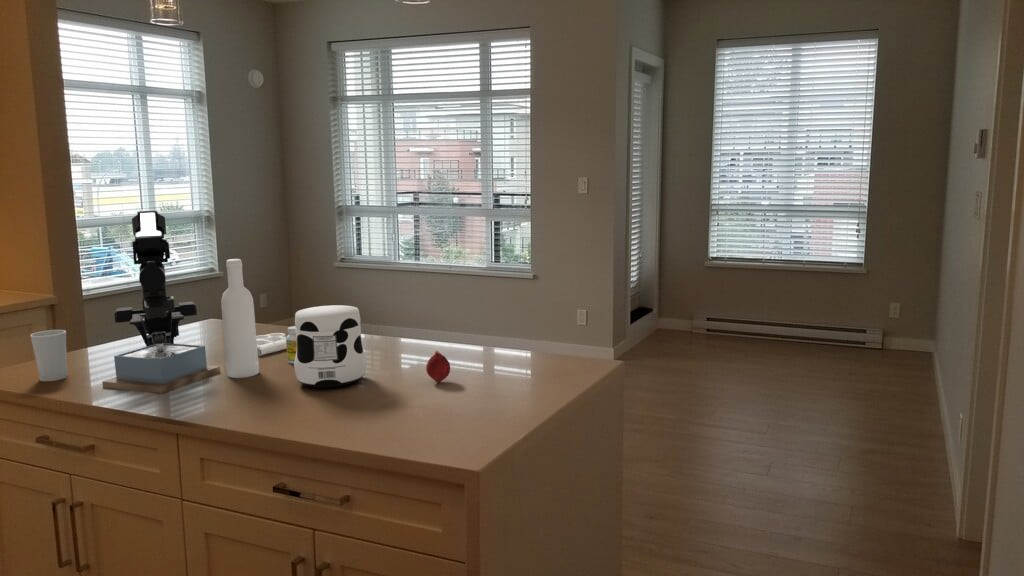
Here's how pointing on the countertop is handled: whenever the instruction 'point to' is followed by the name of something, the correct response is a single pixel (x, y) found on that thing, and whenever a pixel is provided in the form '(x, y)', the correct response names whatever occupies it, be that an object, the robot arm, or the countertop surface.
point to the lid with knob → (159, 348)
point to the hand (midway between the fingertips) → (159, 345)
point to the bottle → (239, 325)
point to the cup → (50, 354)
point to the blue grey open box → (160, 365)
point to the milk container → (329, 346)
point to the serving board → (160, 387)
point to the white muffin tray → (270, 343)
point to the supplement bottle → (291, 344)
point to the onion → (438, 367)
